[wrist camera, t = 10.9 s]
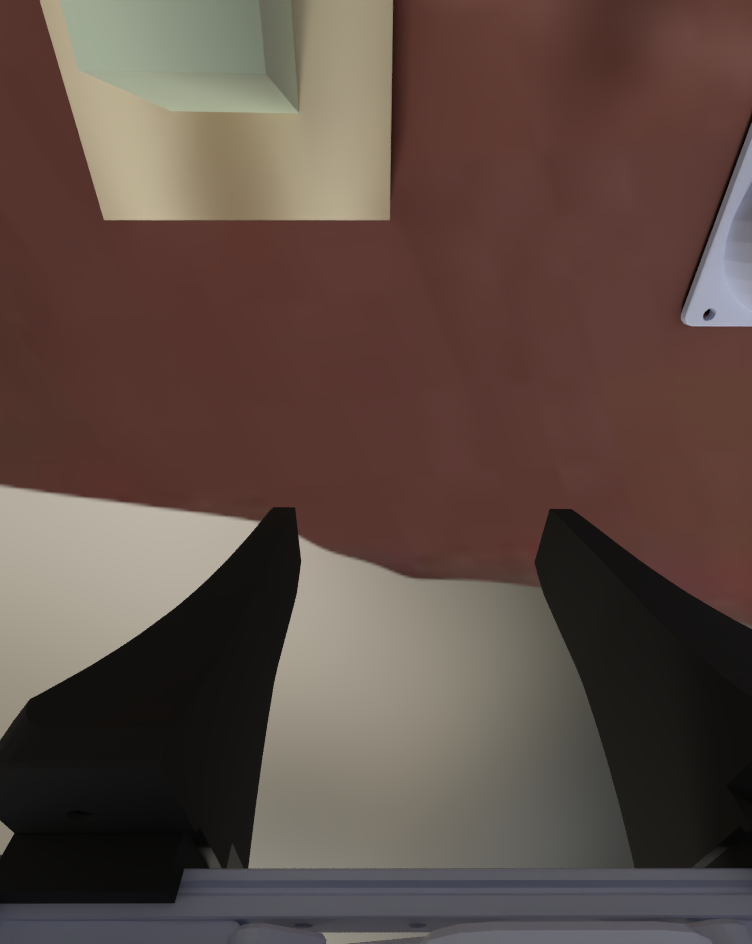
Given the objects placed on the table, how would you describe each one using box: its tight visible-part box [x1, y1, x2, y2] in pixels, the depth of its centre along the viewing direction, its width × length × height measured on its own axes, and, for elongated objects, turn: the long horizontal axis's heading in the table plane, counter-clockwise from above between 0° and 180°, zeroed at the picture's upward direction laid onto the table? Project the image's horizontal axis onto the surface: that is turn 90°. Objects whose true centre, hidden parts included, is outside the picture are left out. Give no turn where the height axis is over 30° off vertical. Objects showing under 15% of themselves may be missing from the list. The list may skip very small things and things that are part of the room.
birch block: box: [40, 0, 393, 220], centre depth 13 cm, size 10×10×3 cm
